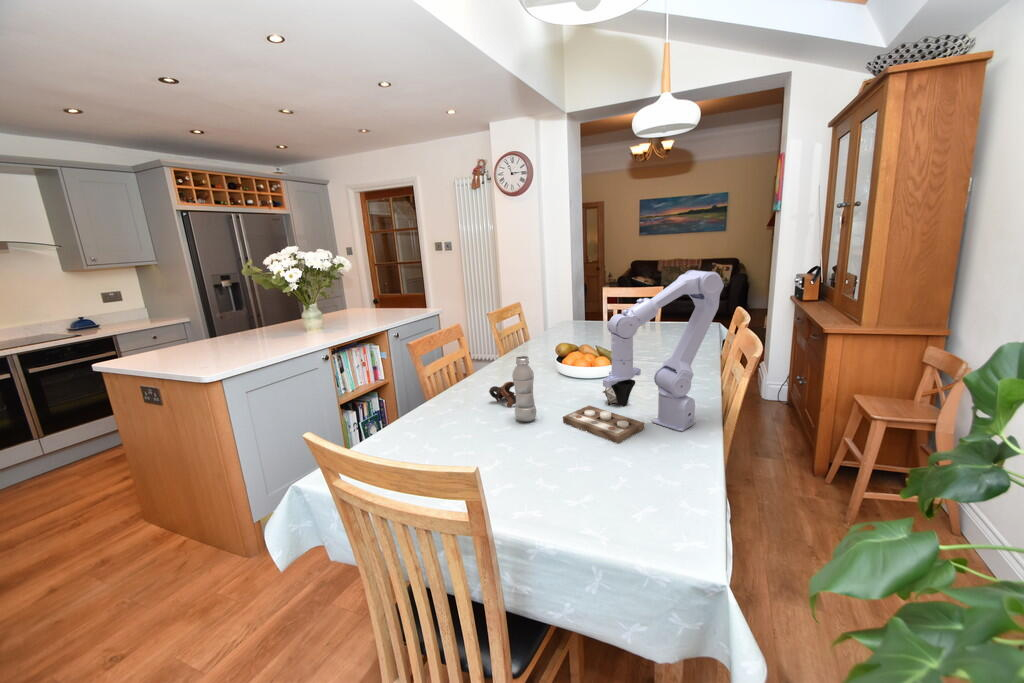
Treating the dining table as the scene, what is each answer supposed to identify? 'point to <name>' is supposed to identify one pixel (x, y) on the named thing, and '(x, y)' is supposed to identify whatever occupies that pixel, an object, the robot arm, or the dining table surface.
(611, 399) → the game die
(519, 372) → the plastic bottle
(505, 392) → the dark brown twisted loops
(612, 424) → the button board
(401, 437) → the dining table surface
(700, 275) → the robot arm
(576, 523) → the dining table surface
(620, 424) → the button
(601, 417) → the button middle
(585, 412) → the button
